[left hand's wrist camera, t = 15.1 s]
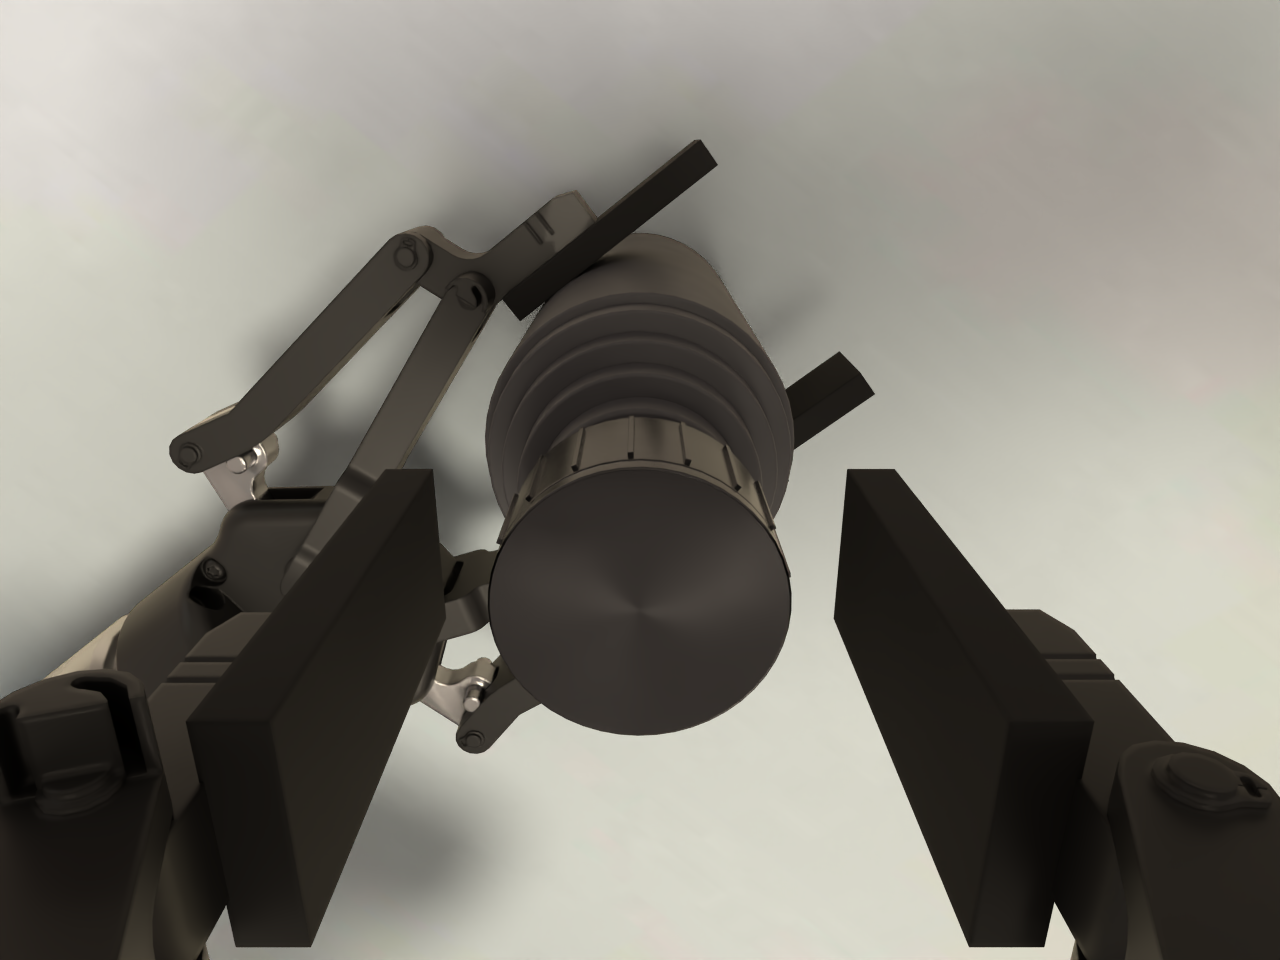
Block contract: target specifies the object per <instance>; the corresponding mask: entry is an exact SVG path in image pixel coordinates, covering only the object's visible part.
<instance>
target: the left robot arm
mask: <svg viewBox="0 0 1280 960" xmlns="http://www.w3.org/2000/svg"><path fill="white" fill-rule="evenodd" d="M445 620H446V610H445V599H444V588H443V577H442V566H441V555H440V544H439V533H438V522H437V511H436V500H435V489H434V478H433V469H385V470H384V472H383V473H382V474H381V475H380V477H379V478H378V479H377V480H376V482H375V483H374V484H373V485H372V487H371V488H370V489H369V490H368V492H367V493H366V494H365V496H364V497H363V498H362V499H361V501H360V502H359V503H358V504H357V506H356V507H355V508H354V509H353V511H352V512H351V513H350V514H349V516H348V517H347V518H346V519H345V521H344V522H343V523H342V525H341V526H340V527H339V528H338V530H337V531H336V532H335V533H334V535H333V536H332V537H331V538H330V540H329V541H328V542H327V543H326V545H325V546H324V547H323V549H322V550H321V551H320V552H319V554H318V555H317V556H316V557H315V559H314V560H313V561H312V562H311V564H310V565H309V566H308V567H307V569H306V570H305V571H304V572H303V574H302V575H301V576H300V578H299V579H298V580H297V581H296V583H295V584H294V585H293V586H292V588H291V589H290V590H289V591H288V593H287V594H286V595H285V596H284V598H283V599H282V600H281V601H280V603H279V604H278V605H277V607H276V608H275V609H274V610H273V612H241V613H239V614H237V615H236V616H234V617H232V618H231V619H229V620H227V621H226V622H224V623H222V624H221V625H219V626H217V627H216V628H214V629H212V630H211V631H209V632H207V633H206V634H205V635H204V636H203V637H202V639H201V640H200V641H199V642H198V643H197V644H196V645H195V646H194V647H193V649H192V650H191V651H190V652H189V653H188V654H187V655H186V656H185V661H184V662H180V663H179V664H178V665H177V666H176V668H175V669H174V670H173V671H172V672H171V673H170V674H169V675H168V677H167V678H166V679H167V680H166V683H161V684H160V685H159V687H158V688H157V689H156V690H155V691H154V692H153V693H152V694H151V696H150V697H149V698H148V699H147V697H146V693H145V688H144V684H143V682H142V681H141V680H139V679H138V678H137V677H135V676H134V675H132V674H131V673H129V672H123V671H117V670H111V669H97V670H83V671H75V672H71V673H67V674H63V675H59V676H55V677H51V678H47V679H44V680H41V681H39V682H36V683H34V684H31V685H29V686H26V687H24V688H22V689H19V690H17V691H14V692H12V693H11V694H9V695H8V696H6V697H4V698H3V699H1V700H0V960H209V956H208V952H207V948H206V941H207V939H208V937H209V936H210V934H211V932H212V930H213V928H214V926H215V925H216V923H217V921H218V919H219V917H220V916H221V914H222V912H223V910H224V908H225V906H227V910H228V914H229V919H230V923H231V928H232V932H233V937H234V941H235V946H236V947H311V946H312V943H313V941H314V938H315V936H316V933H317V931H318V929H319V926H320V924H321V921H322V919H323V916H324V914H325V912H326V909H327V907H328V904H329V902H330V899H331V897H332V895H333V892H334V890H335V887H336V885H337V882H338V880H339V878H340V875H341V873H342V870H343V868H344V865H345V863H346V861H347V858H348V856H349V853H350V851H351V848H352V846H353V844H354V841H355V839H356V836H357V834H358V831H359V829H360V827H361V824H362V822H363V819H364V817H365V814H366V812H367V810H368V807H369V805H370V802H371V800H372V797H373V795H374V793H375V790H376V788H377V785H378V783H379V780H380V778H381V776H382V773H383V771H384V768H385V766H386V763H387V761H388V759H389V756H390V754H391V751H392V749H393V746H394V744H395V742H396V739H397V737H398V734H399V732H400V729H401V727H402V725H403V722H404V720H405V717H406V715H407V712H408V710H409V708H410V705H411V703H412V700H413V698H414V695H415V693H416V691H417V688H418V686H419V683H420V681H421V678H422V676H423V674H424V671H425V669H426V666H427V664H428V661H429V659H430V657H431V654H432V652H433V649H434V647H435V644H436V642H437V640H438V637H439V635H440V632H441V630H442V628H443V625H444V623H445ZM834 620H835V623H836V625H837V628H838V630H839V632H840V635H841V637H842V640H843V642H844V645H845V647H846V649H847V652H848V654H849V657H850V659H851V662H852V664H853V666H854V669H855V671H856V674H857V676H858V679H859V681H860V683H861V686H862V688H863V691H864V693H865V695H866V698H867V700H868V703H869V705H870V708H871V710H872V712H873V715H874V717H875V720H876V722H877V725H878V727H879V729H880V732H881V734H882V737H883V739H884V742H885V744H886V746H887V749H888V751H889V754H890V756H891V759H892V761H893V763H894V766H895V768H896V771H897V773H898V776H899V778H900V780H901V783H902V785H903V788H904V790H905V793H906V795H907V797H908V800H909V802H910V805H911V807H912V810H913V812H914V814H915V817H916V819H917V822H918V824H919V827H920V829H921V831H922V834H923V836H924V839H925V841H926V844H927V846H928V848H929V851H930V853H931V856H932V858H933V861H934V863H935V865H936V868H937V870H938V873H939V875H940V878H941V880H942V882H943V885H944V887H945V890H946V892H947V895H948V897H949V899H950V902H951V904H952V907H953V909H954V912H955V914H956V916H957V919H958V921H959V924H960V926H961V929H962V931H963V933H964V936H965V938H966V941H967V943H968V946H969V947H1044V946H1045V941H1046V937H1047V932H1048V928H1049V923H1050V919H1051V914H1052V910H1053V905H1054V902H1055V904H1056V906H1057V907H1058V909H1059V911H1060V913H1061V915H1062V916H1063V918H1064V920H1065V922H1066V924H1067V926H1068V927H1069V929H1070V931H1071V933H1072V935H1073V936H1074V938H1075V943H1074V948H1073V952H1072V956H1071V960H1280V797H1279V796H1278V795H1277V793H1276V792H1275V791H1274V789H1273V788H1272V787H1271V786H1270V784H1269V783H1267V782H1266V781H1265V780H1263V779H1262V778H1260V777H1259V776H1258V775H1256V774H1255V773H1254V772H1252V771H1251V770H1250V769H1248V768H1247V767H1245V766H1244V765H1242V764H1240V763H1238V762H1235V761H1233V760H1231V759H1229V758H1227V757H1225V756H1223V755H1221V754H1219V753H1217V752H1214V751H1211V750H1207V749H1204V748H1200V747H1197V746H1193V745H1190V744H1186V743H1181V742H1175V741H1174V740H1173V739H1172V738H1171V737H1170V736H1169V735H1168V734H1167V733H1166V732H1165V730H1164V729H1163V728H1162V727H1161V726H1160V725H1159V724H1158V723H1157V722H1156V720H1155V719H1154V718H1153V717H1152V716H1151V715H1150V714H1149V713H1148V712H1147V710H1146V709H1145V708H1144V707H1143V706H1142V705H1141V704H1140V703H1139V702H1138V700H1137V699H1136V698H1135V697H1134V696H1133V695H1132V694H1131V693H1130V692H1129V690H1128V689H1127V688H1126V687H1125V686H1124V685H1123V684H1122V683H1121V682H1120V680H1115V679H1114V674H1113V673H1112V672H1111V670H1110V669H1109V668H1108V667H1107V666H1106V665H1105V664H1104V663H1103V662H1102V660H1101V659H1096V654H1095V653H1094V652H1093V650H1092V649H1091V648H1090V647H1089V646H1088V645H1087V644H1086V643H1085V642H1084V640H1083V639H1082V638H1081V637H1080V636H1079V635H1078V634H1077V633H1076V632H1075V630H1073V629H1071V628H1070V627H1068V626H1066V625H1065V624H1063V623H1061V622H1060V621H1058V620H1056V619H1055V618H1053V617H1051V616H1050V615H1048V614H1046V613H1045V612H1043V611H1041V610H1006V609H1005V608H1004V607H1003V605H1002V604H1001V603H1000V602H999V600H998V599H997V598H996V596H995V595H994V594H993V593H992V591H991V590H990V589H989V588H988V586H987V585H986V584H985V583H984V581H983V580H982V579H981V578H980V576H979V575H978V574H977V572H976V571H975V570H974V569H973V567H972V566H971V565H970V564H969V562H968V561H967V560H966V559H965V557H964V556H963V555H962V554H961V552H960V551H959V550H958V549H957V547H956V546H955V545H954V543H953V542H952V541H951V540H950V538H949V537H948V536H947V535H946V533H945V532H944V531H943V530H942V528H941V527H940V526H939V525H938V523H937V522H936V521H935V520H934V518H933V517H932V516H931V514H930V513H929V512H928V511H927V509H926V508H925V507H924V506H923V504H922V503H921V502H920V501H919V499H918V498H917V497H916V496H915V494H914V493H913V492H912V490H911V489H910V488H909V487H908V485H907V484H906V483H905V482H904V480H903V479H902V478H901V477H900V475H899V474H898V473H897V472H896V470H895V469H847V478H846V489H845V500H844V511H843V522H842V533H841V544H840V555H839V566H838V577H837V588H836V599H835V610H834Z"/></svg>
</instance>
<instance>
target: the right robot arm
mask: <svg viewBox="0 0 1280 960" xmlns="http://www.w3.org/2000/svg"><path fill="white" fill-rule="evenodd" d="M717 165H718V164H717V163H716V161H715V160H714V159H713V157H712V156H711V154H710V153H709V151H708V150H707V148H706V147H705V145H704V144H703V142H702V141H701V140H694V141H693V142H691V143H690V144H689V145H688V146H686V147H685V148H684V149H683V150H682V151H680V152H679V153H678V154H677V155H675V156H674V157H673V158H672V159H670V160H669V161H668V162H667V163H665V164H664V165H663V166H662V167H660V168H659V169H658V170H657V171H655V172H654V173H653V174H652V175H650V176H649V177H648V178H647V179H645V180H644V181H643V182H642V183H640V184H639V185H638V186H637V187H635V188H634V189H633V190H632V191H630V192H629V193H628V194H627V195H626V196H624V197H623V198H622V199H621V200H619V201H618V202H617V203H616V204H614V205H613V206H612V207H611V208H609V209H608V210H607V211H606V212H604V213H603V214H602V215H601V216H599V217H598V218H597V217H596V215H595V214H594V213H593V211H592V210H591V209H590V207H589V206H588V205H587V203H586V202H585V201H584V199H583V198H582V197H581V195H580V194H579V193H578V191H577V190H574V191H571V192H568V193H564V194H561V195H558V196H556V197H554V198H553V199H551V200H550V201H549V202H548V203H547V204H545V205H544V206H543V207H542V208H541V209H539V210H538V211H537V212H536V213H534V214H533V215H532V216H531V217H530V218H528V219H527V220H526V221H525V222H524V223H522V224H521V225H520V226H519V227H517V228H516V229H515V230H514V231H513V232H511V233H510V234H509V235H508V236H506V237H505V238H504V239H503V240H502V241H500V242H499V243H498V244H497V245H495V246H494V247H493V248H492V249H491V250H489V251H487V252H484V253H471V252H468V251H466V250H463V249H462V248H460V247H458V246H457V245H455V244H454V243H452V242H450V241H449V240H447V239H446V238H445V237H444V236H443V234H442V233H441V232H440V231H439V230H437V229H436V228H434V227H430V226H421V227H417V228H414V229H411V230H408V231H405V232H403V233H400V234H397V235H395V236H394V237H392V238H391V239H389V240H388V241H387V242H386V244H385V245H384V246H383V247H382V248H381V249H380V250H379V251H378V252H377V253H376V254H375V255H374V256H373V258H372V259H371V260H370V261H369V262H368V263H367V264H366V265H365V266H364V267H363V268H362V269H361V271H360V272H359V273H358V274H357V275H356V276H355V277H354V278H353V279H352V280H351V281H350V282H349V284H348V285H347V286H346V287H345V288H344V289H343V290H342V291H341V292H340V293H339V294H338V295H337V296H336V298H335V299H334V300H333V301H332V302H331V303H330V304H329V305H328V306H327V307H326V308H325V309H324V311H323V312H322V313H321V314H320V315H319V316H318V317H317V318H316V319H315V320H314V321H313V322H312V323H311V325H310V326H309V327H308V328H307V329H306V330H305V331H304V332H303V333H302V334H301V335H300V336H299V338H298V339H297V340H296V341H295V342H294V343H293V344H292V345H291V346H290V347H289V348H288V349H287V351H286V352H285V353H284V354H283V355H282V356H281V357H280V358H279V359H278V360H277V361H276V362H275V363H274V365H273V366H272V367H271V368H270V369H269V370H268V371H267V372H266V373H265V374H264V375H263V376H262V378H261V379H260V380H259V381H258V382H257V383H256V384H255V385H254V386H253V387H252V388H251V389H250V390H249V392H248V393H247V394H246V395H245V396H244V397H243V398H242V399H241V400H240V401H239V402H237V403H235V404H233V405H230V406H228V407H226V408H224V409H222V410H219V411H217V412H215V413H214V414H212V415H211V416H209V417H207V418H206V419H204V420H203V421H201V422H199V423H198V424H196V425H195V426H193V427H191V428H190V429H188V430H187V431H185V432H183V433H182V434H180V435H179V436H177V437H176V438H175V439H173V440H172V442H171V444H170V446H169V454H170V457H171V459H172V461H173V463H174V464H175V465H176V466H177V467H178V468H179V469H181V470H183V471H185V472H188V473H194V474H195V473H200V472H204V474H205V475H206V477H207V478H208V480H209V482H210V483H211V485H212V486H213V488H214V489H215V491H216V492H217V494H218V495H219V497H220V498H221V500H222V501H223V503H224V505H225V506H226V508H227V509H228V513H227V514H226V515H225V517H224V519H223V521H222V523H221V527H220V531H219V534H218V537H217V539H216V541H215V542H214V543H213V544H212V545H211V546H209V547H208V548H207V549H206V550H204V551H203V552H202V553H201V554H199V555H198V556H197V557H196V558H194V559H193V560H192V561H191V562H189V563H188V564H187V565H186V566H184V567H183V568H182V569H181V570H179V571H178V572H177V573H176V574H174V575H173V576H172V577H171V578H169V579H168V580H167V581H166V582H164V583H163V584H162V585H161V586H159V587H158V588H157V589H156V590H154V591H153V592H152V593H151V594H149V595H148V596H147V597H146V598H144V599H143V600H142V601H141V602H139V603H138V604H137V605H136V606H135V607H134V608H133V609H132V611H131V612H130V613H129V614H128V615H125V616H122V617H121V618H120V619H118V620H117V621H116V622H115V623H113V624H112V625H111V626H110V627H108V628H107V629H106V630H105V631H103V632H102V633H101V634H100V635H98V636H97V637H96V638H94V639H93V640H92V641H91V642H89V643H88V644H87V645H86V646H84V647H83V648H82V649H81V650H79V651H78V652H77V653H76V654H74V655H73V656H72V657H70V658H69V659H68V660H67V661H65V662H64V663H63V664H62V665H60V666H59V667H58V668H57V669H55V670H54V671H53V672H52V673H50V674H49V675H48V676H46V677H45V678H44V679H47V678H51V677H55V676H59V675H63V674H67V673H71V672H75V671H83V670H97V669H111V670H117V671H123V672H129V673H131V674H132V675H134V676H135V677H137V678H138V679H139V680H141V681H142V682H143V684H144V688H145V693H146V697H147V699H148V698H149V697H150V696H151V694H152V693H153V692H154V691H155V690H156V689H157V688H158V687H159V685H160V684H161V683H166V680H167V679H166V678H167V677H168V675H169V674H170V673H171V672H172V671H173V670H174V669H175V668H176V666H177V665H178V664H179V663H180V662H184V661H185V656H186V655H187V654H188V653H189V652H190V651H191V650H192V649H193V647H194V646H195V645H196V644H197V643H198V642H199V641H200V640H201V639H202V637H203V636H204V635H205V634H206V633H207V632H209V631H211V630H212V629H214V628H216V627H217V626H219V625H221V624H222V623H224V622H226V621H227V620H229V619H231V618H232V617H234V616H236V615H237V614H239V613H241V612H273V610H274V609H275V608H276V607H277V605H278V604H279V603H280V601H281V600H282V599H283V598H284V596H285V595H286V594H287V593H288V591H289V590H290V589H291V588H292V586H293V585H294V584H295V583H296V581H297V580H298V579H299V578H300V576H301V575H302V574H303V572H304V571H305V570H306V569H307V567H308V566H309V565H310V564H311V562H312V561H313V560H314V559H315V557H316V556H317V555H318V554H319V552H320V551H321V550H322V549H323V547H324V546H325V545H326V543H327V542H328V541H329V540H330V538H331V537H332V536H333V535H334V533H335V532H336V531H337V530H338V528H339V527H340V526H341V525H342V523H343V522H344V521H345V519H346V518H347V517H348V516H349V514H350V513H351V512H352V511H353V509H354V508H355V507H356V506H357V504H358V503H359V502H360V501H361V499H362V498H363V497H364V496H365V494H366V493H367V492H368V490H369V489H370V488H371V487H372V485H373V484H374V483H375V482H376V480H377V479H378V478H379V477H380V475H381V474H382V473H383V472H384V470H385V469H402V468H403V466H404V464H405V462H406V460H407V458H408V456H409V454H410V453H411V451H412V449H413V447H414V446H415V444H416V442H417V441H418V439H419V437H420V436H421V434H422V432H423V430H424V429H425V427H426V425H427V424H428V422H429V420H430V418H431V417H432V415H433V413H434V412H435V410H436V408H437V406H438V405H439V403H440V401H441V400H442V398H443V396H444V394H445V393H446V391H447V389H448V388H449V386H450V384H451V382H452V381H453V379H454V377H455V376H456V374H457V372H458V370H459V369H460V367H461V365H462V364H463V362H464V360H465V358H466V357H467V355H468V353H469V352H470V350H471V348H472V347H473V345H474V343H475V341H476V340H477V338H478V336H479V335H480V333H481V331H482V329H483V328H484V326H485V324H486V323H487V321H488V319H489V317H490V316H491V314H492V312H493V311H494V309H495V307H496V305H497V304H498V303H499V302H500V301H501V300H502V299H503V301H504V302H505V303H506V304H507V306H508V307H509V308H510V309H511V311H512V312H513V313H514V314H515V315H516V317H517V318H518V319H519V320H520V321H521V320H522V319H524V318H525V317H526V316H527V315H529V314H530V313H531V312H532V311H534V310H535V309H536V308H537V307H539V306H540V305H541V304H543V303H544V302H545V301H546V300H548V299H549V298H550V297H551V296H553V295H554V294H555V293H556V292H558V291H559V290H560V289H561V288H563V287H564V286H565V285H567V284H568V283H569V282H570V281H572V280H573V279H574V278H575V277H577V276H578V275H579V274H581V273H582V272H583V271H584V270H586V269H587V268H588V267H589V266H591V265H592V264H593V263H594V262H596V261H597V260H598V259H599V258H601V257H602V256H603V255H605V254H606V253H607V252H608V251H610V250H611V249H612V248H613V247H615V246H616V245H617V244H618V243H620V242H621V241H622V240H624V239H625V238H626V237H627V236H629V235H630V234H631V233H632V232H634V231H635V230H636V229H637V228H639V227H640V226H641V225H643V224H644V223H645V222H646V221H648V220H649V219H650V218H651V217H653V216H654V215H655V214H656V213H658V212H659V211H660V210H661V209H663V208H664V207H665V206H667V205H668V204H669V203H670V202H672V201H673V200H674V199H675V198H677V197H678V196H679V195H680V194H682V193H683V192H684V191H686V190H687V189H688V188H689V187H691V186H692V185H693V184H694V183H696V182H697V181H698V180H699V179H701V178H702V177H703V176H705V175H706V174H707V173H708V172H710V171H711V170H712V169H713V168H715V167H716V166H717ZM420 286H421V287H423V288H425V289H426V290H428V291H429V292H431V293H433V294H434V295H436V296H438V297H439V298H441V299H442V300H441V301H440V303H439V305H438V307H437V308H436V310H435V312H434V314H433V316H432V317H431V319H430V321H429V323H428V325H427V326H426V328H425V330H424V332H423V333H422V335H421V337H420V339H419V341H418V342H417V344H416V346H415V348H414V350H413V351H412V353H411V355H410V357H409V358H408V360H407V362H406V364H405V366H404V367H403V369H402V371H401V373H400V374H399V376H398V378H397V380H396V382H395V383H394V385H393V387H392V389H391V391H390V392H389V394H388V396H387V398H386V399H385V401H384V403H383V405H382V407H381V408H380V410H379V412H378V414H377V416H376V417H375V419H374V421H373V423H372V424H371V426H370V428H369V430H368V432H367V433H366V435H365V437H364V439H363V440H362V442H361V444H360V446H359V448H358V449H357V451H356V453H355V455H354V457H353V458H352V460H351V462H350V464H349V465H348V467H347V468H346V470H345V471H344V473H343V474H342V476H341V477H340V479H339V480H338V482H337V483H336V485H335V486H310V487H267V485H266V483H265V478H264V474H265V470H266V468H267V467H268V465H270V464H271V463H272V462H273V461H274V460H275V459H276V458H277V456H278V453H279V445H278V438H277V436H276V435H275V434H274V432H275V431H277V430H278V429H279V428H280V427H282V426H283V425H284V424H286V423H287V422H288V421H289V420H291V419H292V418H293V417H294V416H296V415H297V414H298V413H299V412H300V411H301V410H302V409H303V408H304V407H305V406H306V405H307V404H308V403H309V402H310V401H311V400H312V399H313V398H314V397H315V396H316V395H317V394H318V393H319V392H320V391H321V390H322V388H323V387H324V386H325V385H326V384H327V383H328V382H329V381H330V380H331V379H332V378H333V377H334V376H335V375H336V374H337V373H338V372H339V371H340V370H341V369H342V368H343V366H344V365H345V364H346V363H347V362H348V361H349V360H350V359H351V358H352V357H353V356H354V355H355V354H356V353H357V352H358V351H359V350H360V349H361V348H362V347H363V346H364V345H365V343H366V342H367V341H368V340H369V339H370V338H371V337H372V336H373V335H374V334H375V333H376V332H377V331H378V330H379V329H380V328H381V327H382V326H383V325H384V324H385V323H386V321H387V320H388V319H389V318H390V317H391V316H392V315H393V314H394V313H395V312H396V311H397V310H398V309H399V308H400V307H401V306H402V305H403V304H404V303H405V302H406V301H407V299H408V298H409V297H410V296H411V295H412V294H413V293H414V292H415V291H416V290H417V289H418V288H419V287H420ZM785 391H786V394H787V397H788V399H789V403H790V408H791V413H792V418H793V427H794V449H796V448H797V447H799V446H800V445H802V444H803V443H804V442H806V441H807V440H809V439H810V438H812V437H813V436H815V435H816V434H818V433H819V432H821V431H822V430H823V429H825V428H826V427H828V426H829V425H831V424H832V423H834V422H835V421H837V420H838V419H839V418H841V417H842V416H844V415H845V414H847V413H848V412H850V411H851V410H853V409H854V408H855V407H857V406H858V405H860V404H861V403H863V402H864V401H866V400H867V399H869V398H870V397H871V396H873V395H874V394H875V393H874V392H873V390H872V389H871V388H870V386H869V385H868V383H867V382H866V380H865V379H864V377H863V376H862V374H861V373H860V372H859V371H858V370H857V369H856V368H855V367H854V366H853V365H852V364H851V363H850V362H849V361H848V360H847V359H846V358H845V357H844V356H843V355H842V354H841V353H840V352H838V353H836V354H835V355H834V356H832V357H831V358H829V359H828V360H826V361H825V362H824V363H822V364H821V365H819V366H818V367H817V368H815V369H814V370H812V371H811V372H810V373H808V374H807V375H805V376H804V377H802V378H801V379H800V380H798V381H797V382H795V383H794V384H793V385H791V386H790V387H788V388H787V389H785ZM788 481H789V480H788ZM439 544H440V555H441V566H442V577H443V588H444V599H445V610H446V620H445V623H444V625H443V628H442V630H441V632H440V635H439V637H438V640H437V642H436V644H435V647H434V649H433V652H432V654H431V657H430V659H429V661H428V664H427V666H426V669H425V671H424V674H423V676H422V678H421V681H420V683H419V686H418V688H417V691H416V693H415V695H414V698H413V700H412V703H411V705H413V704H415V703H417V702H419V701H421V702H422V703H424V704H425V705H427V706H428V707H430V708H432V709H433V710H435V711H436V712H438V713H439V714H441V715H443V716H444V717H446V718H447V719H449V720H451V721H452V722H454V723H455V724H457V725H458V730H457V733H456V742H457V744H458V746H459V747H460V748H461V749H463V750H464V751H466V752H468V753H474V754H478V753H482V752H485V751H486V750H487V749H489V748H490V747H491V746H492V745H493V743H494V742H495V741H496V740H497V739H498V738H499V737H500V736H501V735H502V733H503V732H504V731H505V730H506V729H507V728H508V727H509V726H510V725H511V723H512V722H513V721H514V720H515V719H516V718H517V717H518V716H519V715H520V714H522V713H524V712H526V711H528V710H529V709H531V708H533V707H535V706H537V705H539V704H541V703H540V702H539V701H537V700H536V699H535V698H534V697H533V696H532V695H531V694H530V693H529V692H527V691H526V690H525V689H524V688H523V687H522V686H521V684H520V683H519V682H518V681H517V679H516V678H515V677H514V676H513V675H512V673H511V672H510V670H509V669H508V667H507V665H506V664H505V662H504V660H503V659H502V657H501V655H500V656H499V657H498V658H497V659H496V660H495V661H494V662H493V663H492V662H491V661H490V659H488V658H486V657H481V658H479V659H477V661H475V662H471V663H470V664H468V665H467V666H465V667H464V668H461V669H454V670H452V669H448V668H445V667H443V666H441V662H442V658H443V654H444V650H445V646H446V642H447V640H448V639H452V638H455V637H459V636H463V635H466V634H470V633H473V632H475V631H477V630H479V629H481V628H482V627H483V626H485V625H486V624H487V623H488V622H490V621H489V614H488V587H489V581H490V575H491V571H492V567H493V564H494V561H495V558H496V555H497V552H498V550H496V551H491V552H489V551H487V550H484V549H481V550H476V551H472V552H469V553H465V554H462V555H458V556H455V557H453V556H452V555H451V554H450V553H449V552H448V551H447V550H446V548H445V547H444V546H443V545H442V544H441V543H439ZM44 679H43V680H44Z"/></svg>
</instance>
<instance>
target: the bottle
mask: <svg viewBox="0 0 1280 960" xmlns="http://www.w3.org/2000/svg"><path fill="white" fill-rule="evenodd" d="M629 416H634V418H638V417H644V418H657V419H663V420H668V421H673V422H677V423H680V422H684V423H686V426H689V427H692V428H695V429H697V430H699V431H701V432H703V433H705V434H707V435H709V436H710V437H712V438H713V439H715V440H716V441H718V442H719V443H721V444H722V445H724V446H725V445H728V446H729V447H730V450H731V452H732V453H733V454H734V455H735V456H736V457H737V458H738V459H739V460H740V461H741V463H742V464H743V465H744V466H745V467H746V468H747V470H748V471H749V473H750V474H751V476H752V478H753V479H754V481H755V482H756V481H759V483H760V484H761V487H762V490H763V493H764V496H765V498H766V501H767V504H768V507H769V510H770V512H771V515H772V518H773V519H774V517H775V516H776V514H777V512H778V510H779V508H780V505H781V503H782V500H783V497H784V494H785V492H786V488H787V483H788V479H789V474H790V469H791V465H792V460H793V450H794V427H793V418H792V413H791V408H790V403H789V399H788V397H787V394H786V391H785V388H784V385H783V383H782V381H781V379H780V377H779V375H778V373H777V371H776V369H775V367H774V365H773V364H772V362H771V360H770V359H769V357H768V355H767V354H766V352H765V351H764V349H763V347H762V346H761V344H760V342H759V341H758V339H757V338H756V336H755V334H754V333H753V331H752V329H751V328H750V326H749V325H748V323H747V321H746V320H745V318H744V316H743V315H742V313H741V312H740V310H739V308H738V307H737V305H736V303H735V302H734V300H733V299H732V297H731V295H730V294H729V292H728V290H727V289H726V287H725V286H724V284H723V282H722V281H721V279H720V278H719V276H718V275H717V273H716V272H715V270H714V269H713V268H712V267H711V266H710V264H709V263H708V262H707V261H706V260H705V259H704V258H703V257H702V256H700V255H699V254H698V253H697V252H695V251H694V250H693V249H691V248H689V247H688V246H686V245H685V244H682V243H680V242H678V241H676V240H674V239H671V238H667V237H664V236H661V235H655V234H648V233H633V234H630V235H629V236H627V237H626V238H625V239H624V240H622V241H621V242H620V243H618V244H617V245H616V246H615V247H613V248H612V249H611V250H610V251H608V252H607V253H606V254H605V255H603V256H602V257H601V258H599V259H598V260H597V261H596V262H594V263H593V264H592V265H591V266H589V267H588V268H587V269H586V270H584V271H583V272H582V273H581V274H579V275H578V276H577V277H575V278H574V279H573V280H572V281H570V282H569V283H568V284H567V285H565V286H564V287H563V288H561V289H560V290H559V291H558V292H556V293H555V294H554V295H553V296H551V297H550V298H549V299H548V300H546V301H545V303H544V304H543V306H542V308H541V309H540V311H539V312H538V314H537V316H536V317H535V319H534V320H533V322H532V324H531V325H530V327H529V329H528V330H527V332H526V333H525V335H524V337H523V338H522V340H521V342H520V343H519V345H518V346H517V348H516V350H515V351H514V353H513V354H512V356H511V358H510V359H509V361H508V363H507V364H506V366H505V368H504V370H503V372H502V374H501V375H500V377H499V379H498V381H497V384H496V387H495V389H494V392H493V394H492V397H491V401H490V405H489V410H488V414H487V421H486V432H485V443H486V457H487V462H488V468H489V473H490V476H491V482H492V487H493V490H494V493H495V496H496V499H497V502H498V505H499V507H500V509H501V511H502V513H503V515H504V517H506V515H507V512H508V509H509V506H510V504H511V501H512V498H513V496H514V493H515V494H518V493H519V491H520V489H521V487H522V485H523V483H524V481H525V479H526V478H527V476H528V475H529V473H530V472H531V470H532V469H533V468H534V466H535V465H536V463H537V460H538V457H539V456H540V455H541V454H542V455H543V456H544V455H545V454H546V453H547V452H549V451H550V450H551V449H552V448H553V447H555V446H556V445H557V444H558V443H560V442H561V441H563V440H564V439H566V438H568V437H569V436H571V435H572V434H574V433H576V432H578V431H579V428H582V427H584V428H587V427H590V426H593V425H596V424H599V423H602V422H606V421H611V420H616V419H622V418H629Z"/></svg>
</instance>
